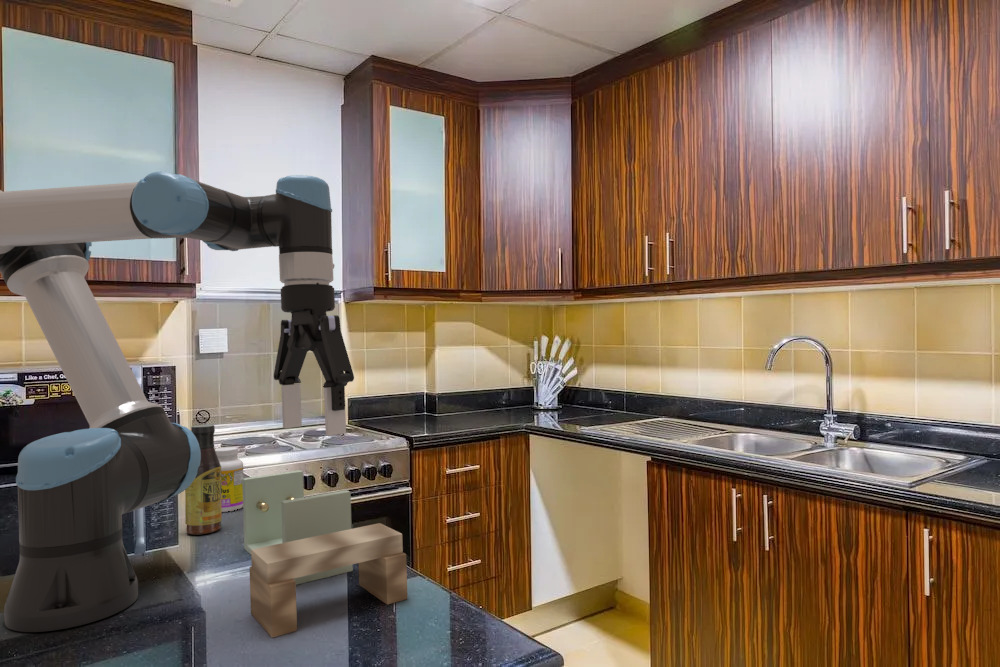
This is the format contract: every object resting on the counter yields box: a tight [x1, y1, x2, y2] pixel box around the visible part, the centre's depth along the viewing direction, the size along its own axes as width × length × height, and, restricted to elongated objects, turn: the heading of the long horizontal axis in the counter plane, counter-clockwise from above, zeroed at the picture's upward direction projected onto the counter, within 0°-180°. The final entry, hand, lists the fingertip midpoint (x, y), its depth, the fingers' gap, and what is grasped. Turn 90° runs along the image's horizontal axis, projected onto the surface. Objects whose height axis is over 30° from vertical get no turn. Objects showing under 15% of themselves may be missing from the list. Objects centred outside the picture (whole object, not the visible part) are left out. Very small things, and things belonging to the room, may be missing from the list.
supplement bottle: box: [214, 446, 244, 513], centre depth 141 cm, size 7×7×13 cm
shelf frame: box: [242, 469, 354, 586], centre depth 107 cm, size 23×10×12 cm, turn 36°
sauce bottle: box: [184, 424, 223, 536], centre depth 125 cm, size 6×6×20 cm
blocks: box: [249, 552, 408, 638], centre depth 87 cm, size 18×9×6 cm, turn 126°
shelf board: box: [250, 522, 404, 585], centre depth 87 cm, size 18×7×2 cm, turn 126°
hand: (313, 430), depth 96 cm, fingers open, 13 cm apart
